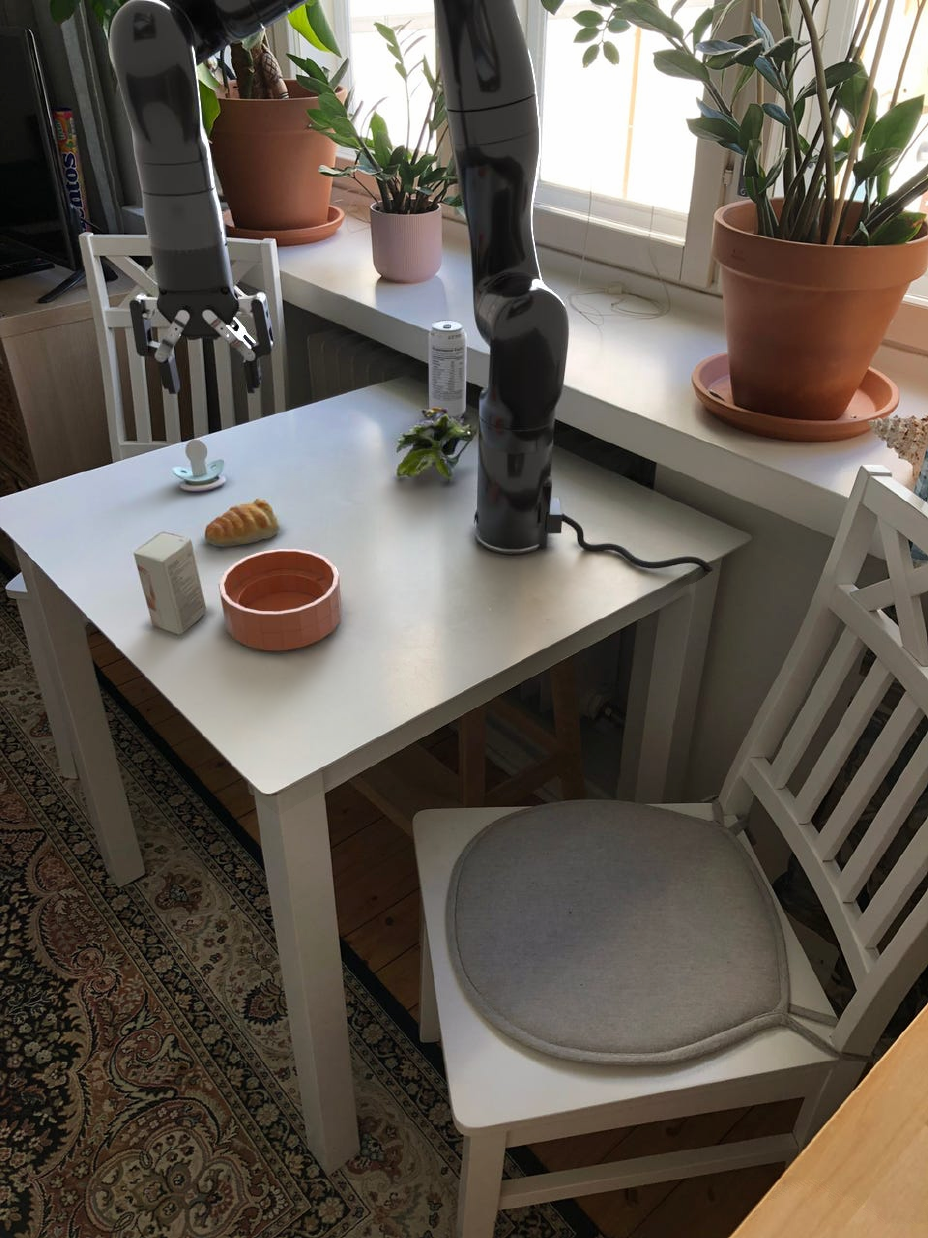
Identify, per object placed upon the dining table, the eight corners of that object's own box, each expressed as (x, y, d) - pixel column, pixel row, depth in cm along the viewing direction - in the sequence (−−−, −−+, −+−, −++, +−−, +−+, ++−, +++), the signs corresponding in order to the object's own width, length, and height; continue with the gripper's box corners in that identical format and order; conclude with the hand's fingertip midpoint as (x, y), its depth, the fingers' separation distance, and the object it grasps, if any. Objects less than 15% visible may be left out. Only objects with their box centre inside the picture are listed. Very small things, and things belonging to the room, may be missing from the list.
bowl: (347, 587, 112) (344, 549, 109) (335, 655, 102) (331, 614, 99) (238, 586, 112) (232, 548, 109) (214, 654, 102) (207, 613, 98)
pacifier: (232, 488, 133) (223, 469, 137) (226, 449, 129) (217, 430, 133) (179, 497, 130) (173, 478, 135) (172, 458, 127) (165, 439, 131)
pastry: (220, 557, 118) (215, 531, 115) (196, 535, 122) (191, 510, 120) (284, 534, 122) (281, 508, 120) (260, 514, 127) (256, 489, 124)
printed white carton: (178, 602, 110) (163, 529, 104) (208, 612, 108) (194, 538, 102) (148, 626, 106) (130, 551, 100) (179, 636, 104) (162, 561, 98)
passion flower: (435, 492, 143) (471, 422, 141) (464, 512, 134) (503, 438, 132) (374, 463, 137) (411, 389, 135) (400, 481, 128) (440, 403, 126)
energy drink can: (467, 408, 156) (469, 319, 147) (462, 423, 151) (464, 332, 142) (432, 406, 157) (431, 317, 148) (426, 420, 152) (425, 330, 143)
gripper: (104, 247, 89) (140, 405, 99) (252, 246, 89) (273, 404, 99) (126, 227, 95) (157, 378, 105) (264, 226, 95) (283, 377, 105)
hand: (214, 391), depth 102 cm, fingers open, 8 cm apart
